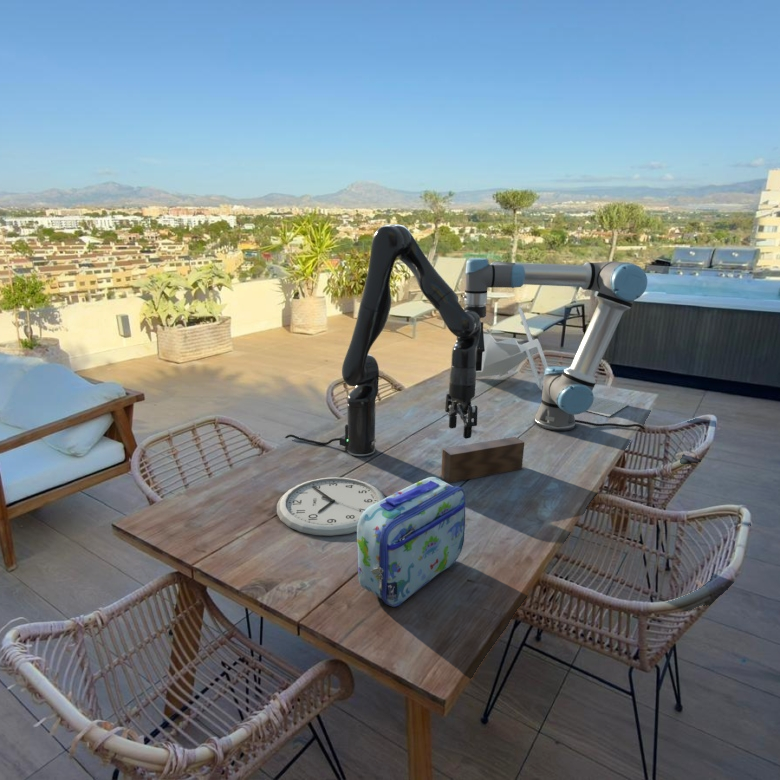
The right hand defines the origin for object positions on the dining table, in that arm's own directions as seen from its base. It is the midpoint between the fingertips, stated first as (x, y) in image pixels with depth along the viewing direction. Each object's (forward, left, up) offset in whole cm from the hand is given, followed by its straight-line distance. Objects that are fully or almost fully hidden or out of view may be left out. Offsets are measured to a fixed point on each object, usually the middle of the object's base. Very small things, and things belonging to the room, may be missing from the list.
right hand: (472, 365), depth 184 cm
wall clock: (+38, +56, -27) cm, 73 cm away
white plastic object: (-20, -70, -27) cm, 77 cm away
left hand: (+4, +34, -12) cm, 36 cm away
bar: (-4, +30, -27) cm, 40 cm away
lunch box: (+14, +84, -27) cm, 89 cm away
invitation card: (-58, -43, -27) cm, 77 cm away
